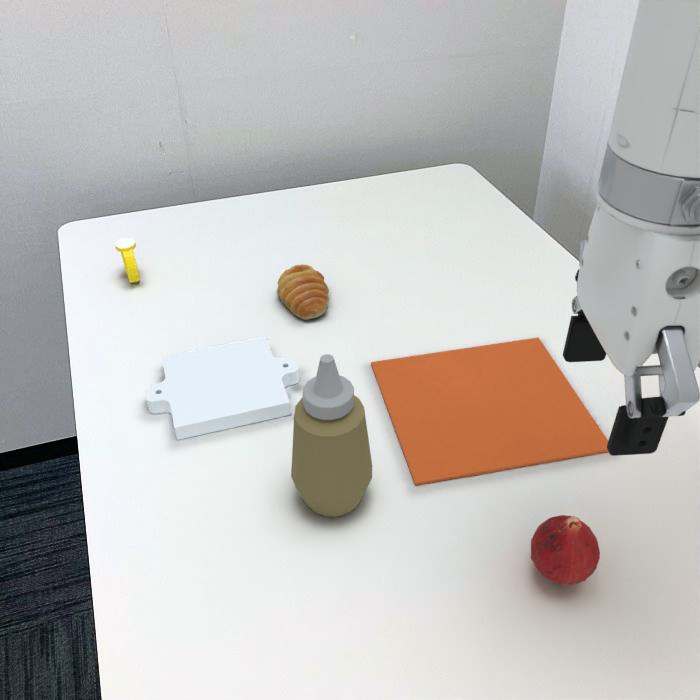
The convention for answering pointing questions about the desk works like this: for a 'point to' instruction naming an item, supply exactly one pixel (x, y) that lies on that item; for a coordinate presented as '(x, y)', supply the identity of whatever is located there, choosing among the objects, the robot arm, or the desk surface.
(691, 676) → the desk surface
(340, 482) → the squeeze bottle
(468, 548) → the desk surface
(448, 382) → the cloth
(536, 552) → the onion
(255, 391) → the mounting plate
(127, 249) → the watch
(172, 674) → the desk surface
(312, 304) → the pastry
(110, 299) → the desk surface
